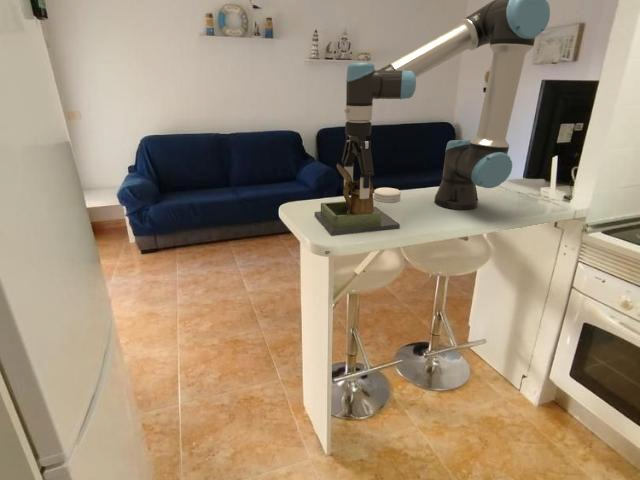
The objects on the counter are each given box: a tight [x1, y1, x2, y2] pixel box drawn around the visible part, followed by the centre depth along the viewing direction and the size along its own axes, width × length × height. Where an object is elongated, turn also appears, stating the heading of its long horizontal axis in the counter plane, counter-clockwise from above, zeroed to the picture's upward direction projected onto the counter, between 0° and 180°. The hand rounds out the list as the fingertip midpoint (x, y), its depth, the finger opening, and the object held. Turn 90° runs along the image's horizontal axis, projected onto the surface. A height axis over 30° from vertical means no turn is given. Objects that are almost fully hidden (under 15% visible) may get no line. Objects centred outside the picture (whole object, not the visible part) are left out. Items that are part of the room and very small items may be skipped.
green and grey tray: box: [314, 200, 401, 237], centre depth 125 cm, size 22×18×5 cm
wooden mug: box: [336, 162, 375, 215], centre depth 121 cm, size 9×14×18 cm, turn 113°
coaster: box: [373, 187, 402, 204], centre depth 149 cm, size 10×10×4 cm
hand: (355, 192), depth 122 cm, fingers open, 13 cm apart
